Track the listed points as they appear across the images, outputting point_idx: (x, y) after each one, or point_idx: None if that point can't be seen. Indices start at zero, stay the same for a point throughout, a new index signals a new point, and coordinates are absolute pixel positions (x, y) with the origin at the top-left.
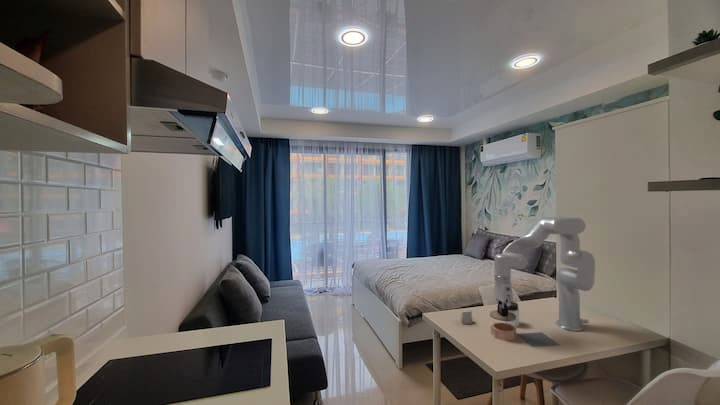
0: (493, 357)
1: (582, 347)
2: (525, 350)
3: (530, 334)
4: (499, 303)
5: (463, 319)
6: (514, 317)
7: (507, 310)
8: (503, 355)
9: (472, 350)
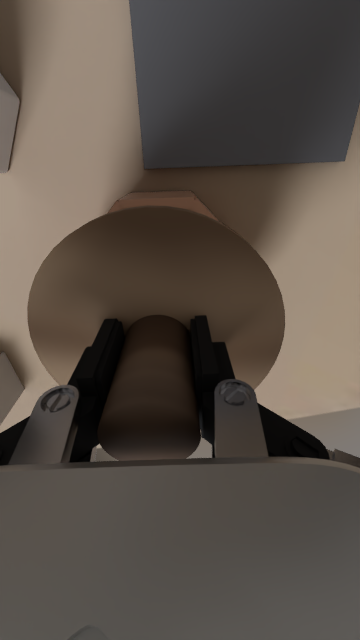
0: (333, 382)
1: None
2: (342, 226)
3: (161, 22)
4: (85, 449)
5: (9, 404)
6: (256, 265)
7: (214, 359)
8: (337, 346)
9: None
